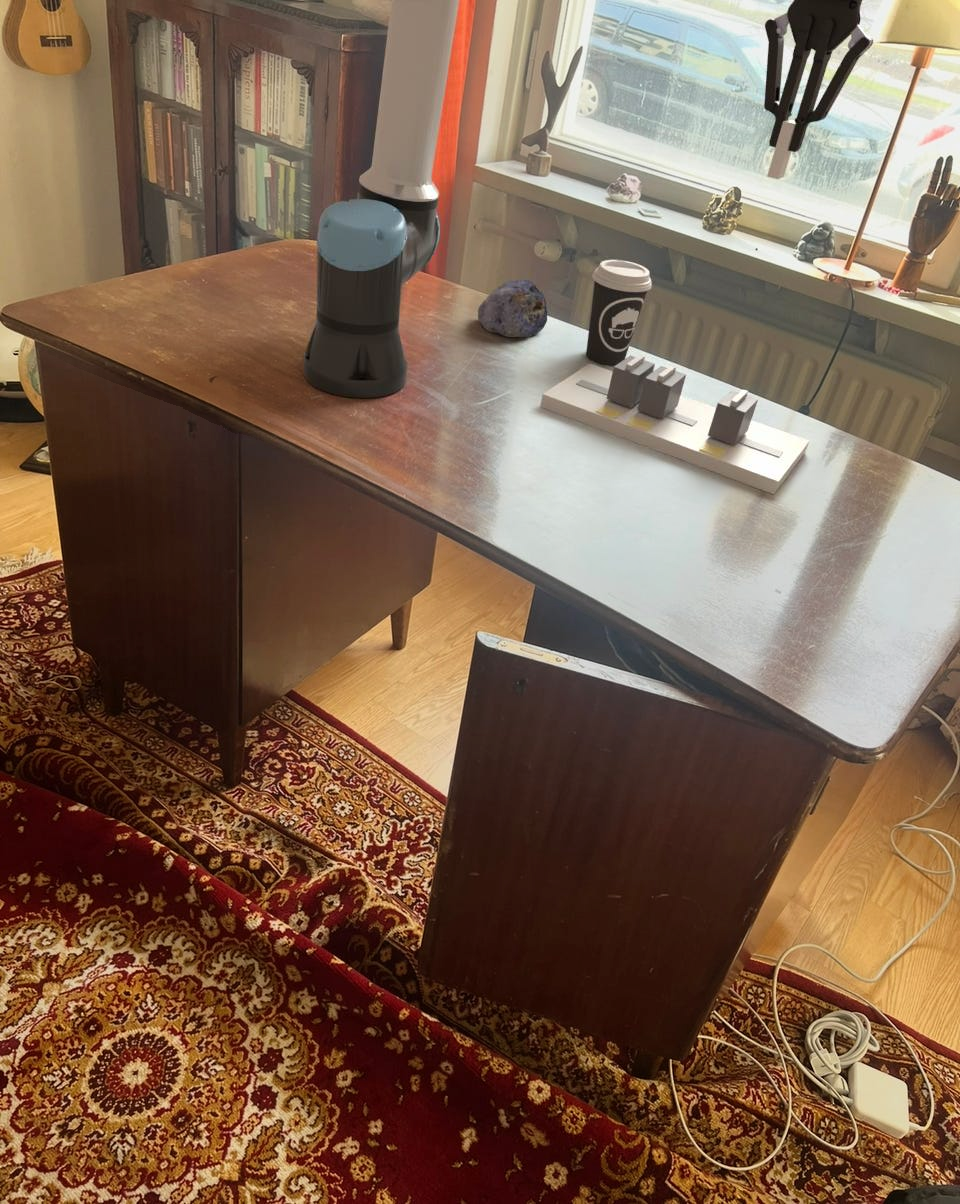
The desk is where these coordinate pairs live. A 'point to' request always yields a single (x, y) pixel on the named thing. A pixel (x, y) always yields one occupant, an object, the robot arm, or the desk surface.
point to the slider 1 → (629, 380)
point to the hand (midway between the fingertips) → (775, 176)
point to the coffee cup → (615, 309)
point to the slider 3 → (732, 416)
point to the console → (680, 431)
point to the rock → (514, 310)
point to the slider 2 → (661, 391)
